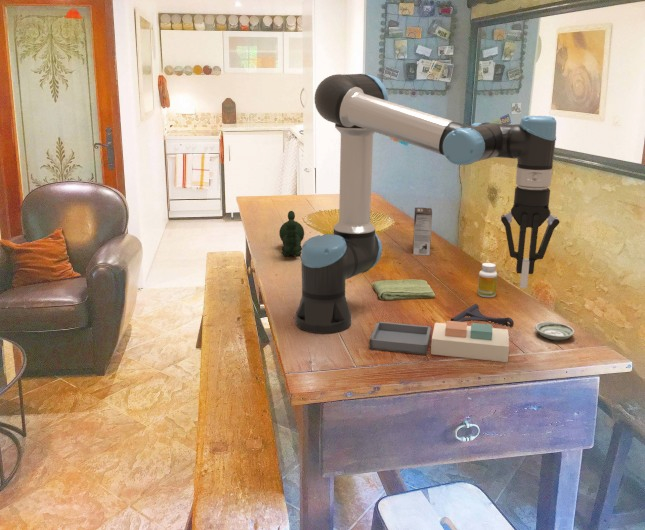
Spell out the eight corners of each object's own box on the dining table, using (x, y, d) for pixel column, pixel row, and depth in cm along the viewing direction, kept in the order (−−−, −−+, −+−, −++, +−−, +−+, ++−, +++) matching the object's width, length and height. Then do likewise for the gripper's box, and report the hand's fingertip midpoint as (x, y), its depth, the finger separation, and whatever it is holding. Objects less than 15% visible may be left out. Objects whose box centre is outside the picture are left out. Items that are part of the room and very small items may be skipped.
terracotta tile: (445, 335, 154) (445, 328, 154) (446, 327, 159) (446, 320, 158) (466, 337, 153) (466, 330, 153) (466, 329, 158) (467, 322, 157)
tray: (369, 348, 156) (369, 339, 156) (377, 330, 168) (377, 321, 167) (426, 354, 153) (426, 345, 152) (430, 335, 164) (431, 326, 164)
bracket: (501, 337, 165) (502, 327, 164) (449, 323, 174) (450, 314, 173) (522, 321, 176) (523, 311, 175) (473, 309, 185) (473, 300, 184)
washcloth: (437, 300, 191) (437, 290, 190) (379, 302, 189) (380, 292, 188) (424, 286, 203) (425, 276, 202) (370, 288, 201) (371, 278, 200)
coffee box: (412, 248, 244) (414, 207, 239) (429, 248, 243) (431, 207, 238) (412, 254, 236) (414, 212, 231) (430, 255, 235) (432, 212, 230)
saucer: (552, 347, 158) (553, 338, 157) (526, 333, 167) (527, 324, 166) (581, 341, 162) (583, 332, 161) (554, 327, 170) (555, 319, 170)
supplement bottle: (496, 298, 191) (498, 267, 188) (477, 297, 192) (480, 266, 189) (495, 292, 196) (497, 262, 193) (477, 291, 197) (479, 261, 194)
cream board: (430, 354, 154) (431, 338, 152) (434, 336, 163) (435, 322, 162) (507, 362, 149) (509, 346, 148) (506, 344, 159) (508, 329, 158)
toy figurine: (305, 266, 227) (304, 242, 250) (304, 215, 220) (303, 195, 243) (278, 266, 227) (280, 242, 250) (277, 216, 220) (279, 195, 243)
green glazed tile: (470, 338, 153) (470, 330, 152) (470, 330, 158) (471, 322, 157) (491, 340, 152) (492, 332, 151) (491, 332, 156) (492, 324, 156)
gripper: (503, 188, 140) (494, 289, 147) (565, 190, 137) (554, 293, 144) (502, 182, 147) (494, 279, 154) (561, 185, 144) (551, 283, 151)
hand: (523, 286), depth 149 cm, fingers closed
